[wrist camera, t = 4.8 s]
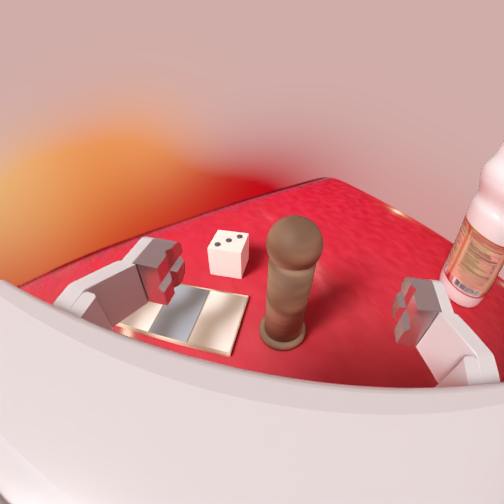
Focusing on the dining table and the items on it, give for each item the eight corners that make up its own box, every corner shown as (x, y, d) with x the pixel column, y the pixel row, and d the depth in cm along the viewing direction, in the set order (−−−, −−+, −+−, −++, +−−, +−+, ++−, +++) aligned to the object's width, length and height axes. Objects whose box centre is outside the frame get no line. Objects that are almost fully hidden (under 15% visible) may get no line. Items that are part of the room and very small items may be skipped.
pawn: (306, 318, 33) (329, 208, 23) (302, 354, 29) (330, 242, 19) (264, 312, 33) (270, 200, 24) (255, 346, 29) (259, 232, 20)
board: (248, 297, 35) (248, 295, 35) (230, 356, 28) (229, 354, 28) (120, 272, 38) (119, 270, 38) (88, 315, 32) (87, 313, 31)
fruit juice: (430, 268, 40) (481, 107, 22) (468, 271, 39) (520, 128, 21) (448, 309, 32) (523, 126, 15) (487, 309, 31) (558, 150, 14)
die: (249, 257, 42) (249, 231, 39) (241, 278, 38) (240, 252, 35) (218, 252, 43) (216, 227, 40) (208, 273, 39) (204, 247, 36)
